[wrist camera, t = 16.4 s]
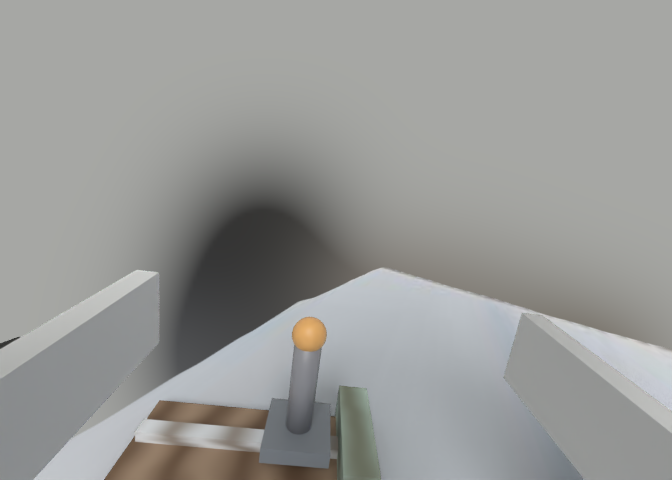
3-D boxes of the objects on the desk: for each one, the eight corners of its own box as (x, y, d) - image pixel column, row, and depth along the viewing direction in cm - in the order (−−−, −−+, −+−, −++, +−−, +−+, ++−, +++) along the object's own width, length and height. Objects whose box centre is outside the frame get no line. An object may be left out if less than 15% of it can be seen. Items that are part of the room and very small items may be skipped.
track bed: (365, 422, 50) (371, 388, 48) (378, 522, 36) (387, 479, 35) (163, 404, 48) (163, 368, 47) (97, 500, 35) (95, 454, 33)
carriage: (327, 421, 46) (344, 307, 42) (327, 475, 38) (347, 341, 34) (270, 416, 46) (281, 300, 41) (258, 469, 38) (270, 333, 34)
